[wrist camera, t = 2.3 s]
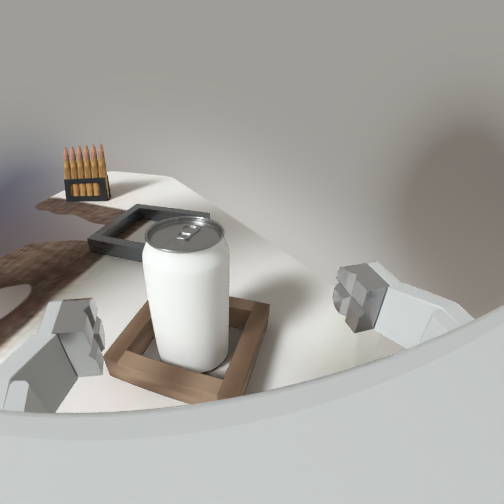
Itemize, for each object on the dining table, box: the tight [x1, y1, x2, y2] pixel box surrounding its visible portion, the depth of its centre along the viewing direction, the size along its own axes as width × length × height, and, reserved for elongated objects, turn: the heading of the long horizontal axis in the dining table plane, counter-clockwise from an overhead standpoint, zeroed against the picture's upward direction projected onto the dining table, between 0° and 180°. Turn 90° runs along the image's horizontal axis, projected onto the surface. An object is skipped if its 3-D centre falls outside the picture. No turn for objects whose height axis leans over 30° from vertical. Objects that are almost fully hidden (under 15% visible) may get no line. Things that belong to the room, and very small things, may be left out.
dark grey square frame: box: [88, 204, 210, 262], centre depth 46 cm, size 14×14×2 cm
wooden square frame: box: [103, 296, 270, 404], centre depth 27 cm, size 12×12×2 cm
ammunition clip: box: [64, 144, 111, 202], centre depth 57 cm, size 11×2×12 cm, turn 91°
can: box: [142, 216, 229, 373], centre depth 25 cm, size 6×6×12 cm
